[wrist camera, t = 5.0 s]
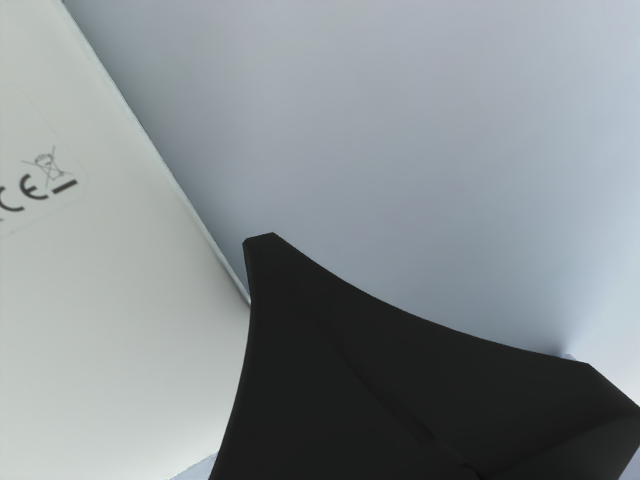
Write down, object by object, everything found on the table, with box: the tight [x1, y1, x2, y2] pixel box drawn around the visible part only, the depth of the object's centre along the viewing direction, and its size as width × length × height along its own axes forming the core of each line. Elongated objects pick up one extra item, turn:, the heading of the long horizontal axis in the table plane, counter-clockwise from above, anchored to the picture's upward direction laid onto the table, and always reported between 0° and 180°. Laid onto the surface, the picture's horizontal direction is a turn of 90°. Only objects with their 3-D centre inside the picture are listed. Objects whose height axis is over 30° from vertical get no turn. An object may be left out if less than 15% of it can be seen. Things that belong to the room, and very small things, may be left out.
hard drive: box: [0, 0, 251, 480], centre depth 9 cm, size 2×8×12 cm
